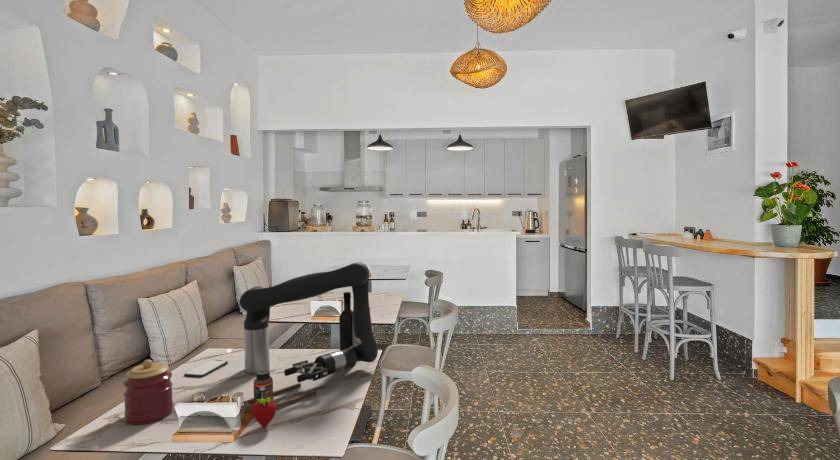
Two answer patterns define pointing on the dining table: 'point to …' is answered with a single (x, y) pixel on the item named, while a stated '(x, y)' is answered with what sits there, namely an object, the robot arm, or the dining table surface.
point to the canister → (148, 393)
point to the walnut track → (248, 403)
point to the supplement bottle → (263, 385)
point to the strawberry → (264, 411)
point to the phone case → (206, 368)
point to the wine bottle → (347, 324)
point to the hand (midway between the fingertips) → (291, 376)
